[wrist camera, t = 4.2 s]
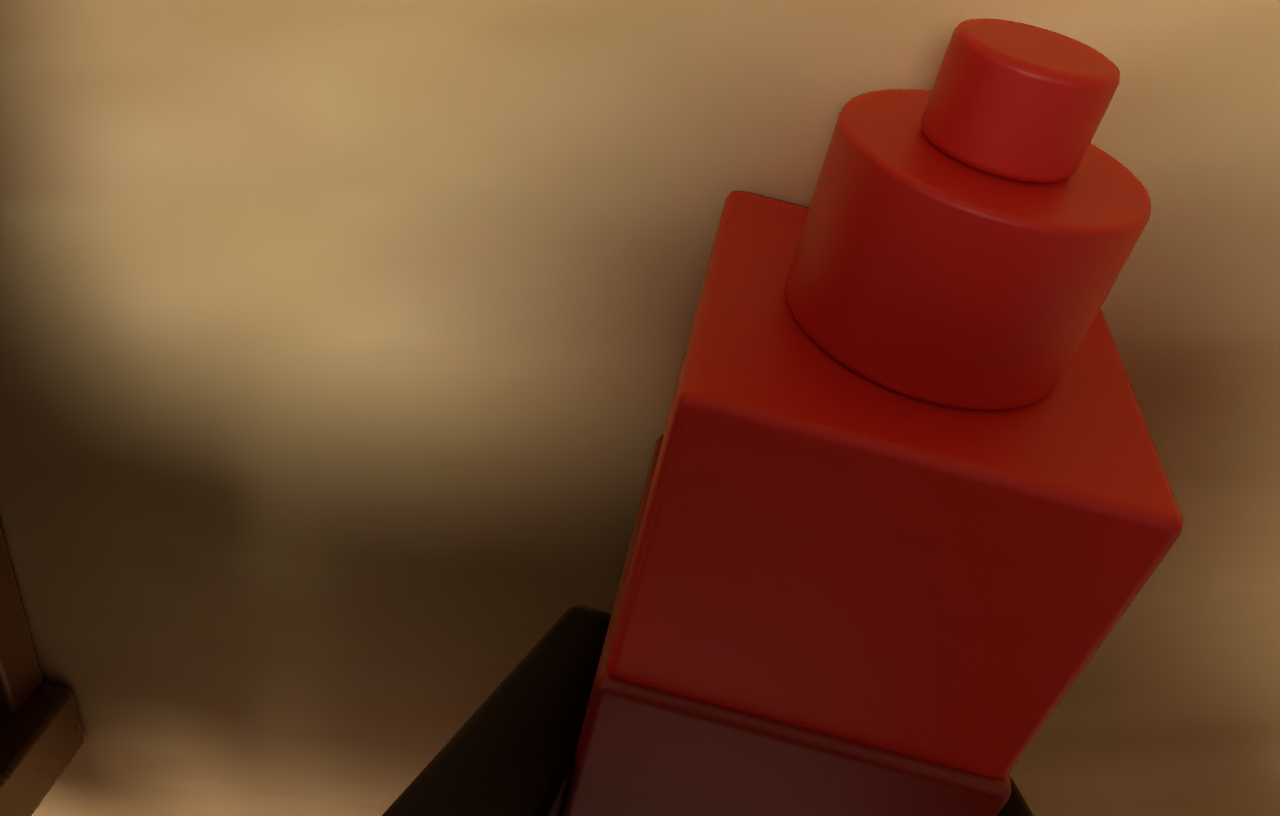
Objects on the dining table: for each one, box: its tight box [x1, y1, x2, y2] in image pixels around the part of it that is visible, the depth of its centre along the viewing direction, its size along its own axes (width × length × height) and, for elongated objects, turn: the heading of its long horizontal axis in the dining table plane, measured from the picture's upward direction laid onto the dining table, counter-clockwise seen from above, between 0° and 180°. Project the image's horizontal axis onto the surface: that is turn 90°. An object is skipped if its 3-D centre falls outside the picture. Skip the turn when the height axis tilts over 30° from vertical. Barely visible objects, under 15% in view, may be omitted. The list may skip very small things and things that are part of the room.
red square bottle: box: [560, 19, 1183, 816], centre depth 8 cm, size 10×3×3 cm, turn 169°
